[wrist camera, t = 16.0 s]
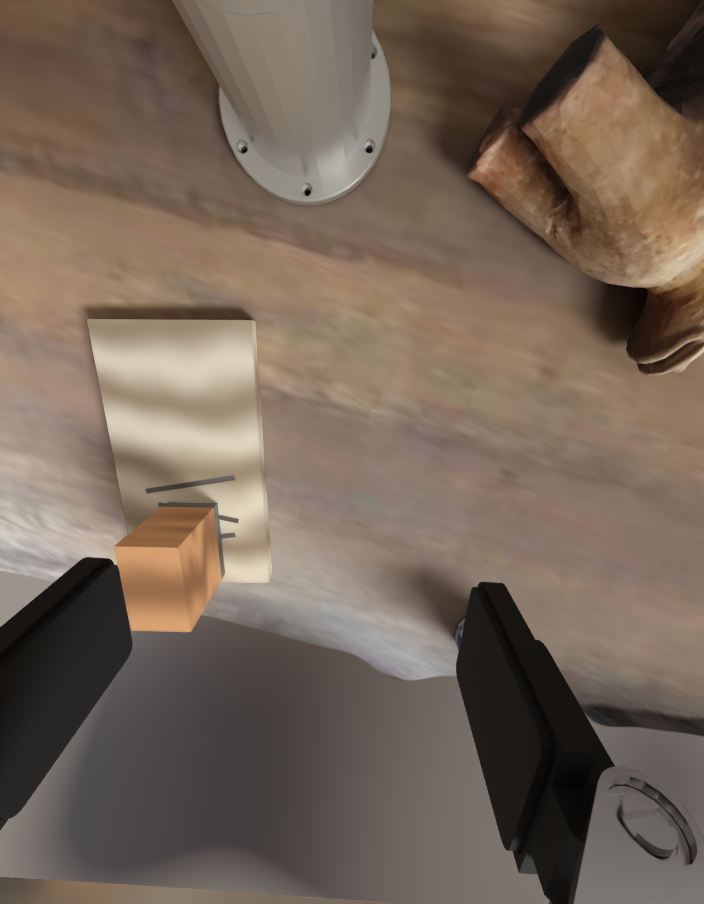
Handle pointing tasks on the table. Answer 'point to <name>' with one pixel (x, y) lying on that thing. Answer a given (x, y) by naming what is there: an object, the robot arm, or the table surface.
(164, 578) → the block
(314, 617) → the table surface
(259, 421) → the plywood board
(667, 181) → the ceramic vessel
